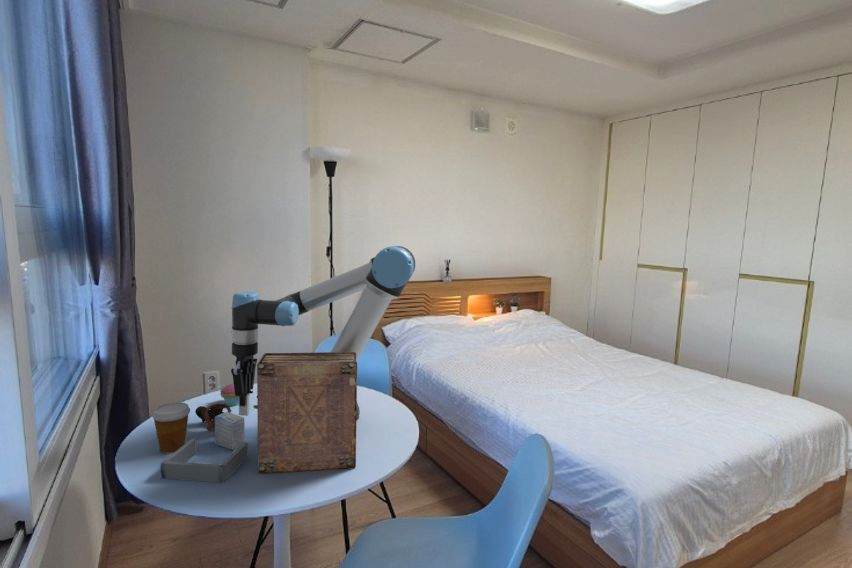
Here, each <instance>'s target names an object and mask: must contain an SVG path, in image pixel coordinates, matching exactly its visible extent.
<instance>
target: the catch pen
mask: <svg viewBox="0 0 852 568" xmlns="http://www.w3.org/2000/svg"><path fill="white" fill-rule="evenodd" d="M196 447H197V445H196V439H193V438H191V439H190V440H188V441H187V442H185V445H183V446H182V447H181V448H180V449H178V450H177V451H176V452H172V453H171V454H170V455H169V456H168V457H167V458H166V459H164V460H163V461H161V462H160V479H166V480H181V481H195V482H196V481H197V482H210V483H211V482H212V483H225V482H226V480H227V479H228V478H229V477H230V476H231V475H232V474H233V472H235V471H236V469H237V468H238V467H239V466H240V465H241V464H242V463H243V462H244V461H245V459H247V458H248V442H245V443H242V444H241V445H240V446H239V447H238V448H237V449H235V450H233V452H232V453H231V454H230V455H229V456H228V457H227V458H226V459H225V460H224V461H223V462H222V463H221V464H218V463H202V462H199V463H198V462H188V461H189V459H191V458H192V457H193V456H194V455H195V454H197V451H196V450H197V448H196Z"/></svg>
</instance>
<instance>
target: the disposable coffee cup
mask: <svg viewBox="0 0 852 568" xmlns="http://www.w3.org/2000/svg"><path fill="white" fill-rule="evenodd" d="M190 412H191V408H190V406H189V404H188V403H186V402H182V401H181V402H179V401H178V402H177V401H176V402H175V401H174V402H169V403H168V402H167V403H163V404H160V405H158V406H156V407H155V408H154V409H153V413H152V414H151V417H152V419H153V421H154V426H155V432H156V438H157V444H158V448H159V452H161V453H162V454H163V453H164V454H173V453H174V452H176V451H177V450H178V449H180V448H181V447H182V446H183V445H185V444H186V437H187V431H188V430H187V429H188V422H189V421H188V420H189V414H190Z"/></svg>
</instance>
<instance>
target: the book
mask: <svg viewBox="0 0 852 568" xmlns="http://www.w3.org/2000/svg"><path fill="white" fill-rule="evenodd" d="M256 377H257V378H256V380H257V381H256V386H257V387H256V389H257V391H256V392H257V393H256V394H257V395H256V396H257V399H256V400H257V401H256V402H257V404H256V405H257V473H258V475H259V474H260V475H261V474H262V475H263V474H278V473H279V474H280V473H293V472H294V473H296V472H312V471H313V472H314V471H316V472H317V471H318V472H319V471H329V470H330V471H334V470H349V469H348V468H353V469H356V467H357V420H356V413H357V403H358V400H357V399H358V397H357V395H358V393H357V392H358V388H357V386H358V360H357V361H356V352H326V351H322V352H321V351H319V352H265V353H264V354H262V356H261V357H260V359H259V361H257V363H256Z"/></svg>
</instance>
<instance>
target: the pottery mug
mask: <svg viewBox="0 0 852 568" xmlns="http://www.w3.org/2000/svg"><path fill="white" fill-rule="evenodd" d="M224 409H226V410H227V412H229V413H232V411H233V410H232V409H231V406H228V405H227V404H226V403H224V402H214V403H211V404H210V405H208V406H207V407H206V406H203V405H202V406H201V405H200V406H198V407H196V409H195V411H194V412H195V414H196V416H197V417H198V418H199V419H200V420H201V422H202V423H205V422H206V430H207V431H209V432H211V431H212V430H213V429H214V430H215V416H218V415H220V414H223V413H225V412H224V411H223V410H224Z"/></svg>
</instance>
